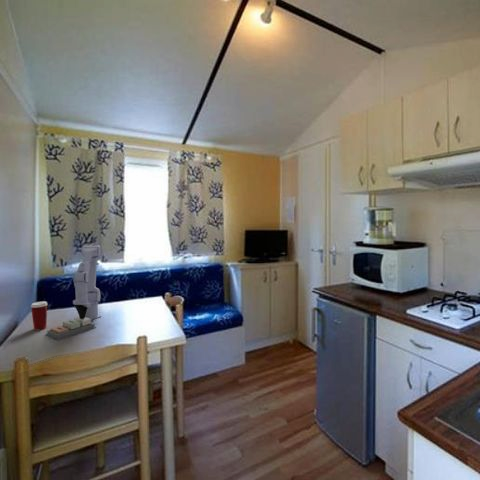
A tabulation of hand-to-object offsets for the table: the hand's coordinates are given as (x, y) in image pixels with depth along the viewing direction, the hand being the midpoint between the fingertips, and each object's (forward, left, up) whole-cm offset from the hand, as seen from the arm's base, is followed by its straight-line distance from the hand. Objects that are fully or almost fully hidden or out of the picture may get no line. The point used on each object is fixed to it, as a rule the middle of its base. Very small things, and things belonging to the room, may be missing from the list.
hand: (82, 318), depth 158 cm
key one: (0, 0, -3) cm, 3 cm away
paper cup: (-19, -13, -6) cm, 24 cm away
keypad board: (0, -6, -5) cm, 8 cm away
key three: (0, -12, -4) cm, 13 cm away
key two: (0, -6, -3) cm, 7 cm away
